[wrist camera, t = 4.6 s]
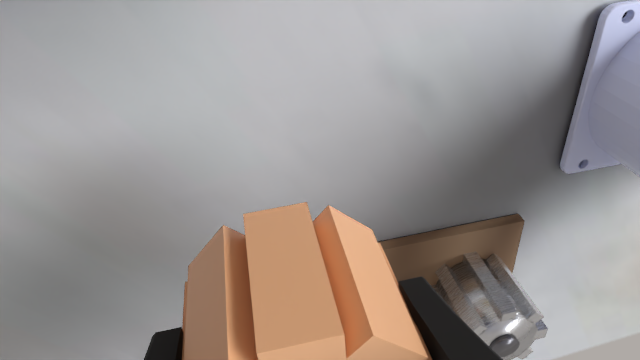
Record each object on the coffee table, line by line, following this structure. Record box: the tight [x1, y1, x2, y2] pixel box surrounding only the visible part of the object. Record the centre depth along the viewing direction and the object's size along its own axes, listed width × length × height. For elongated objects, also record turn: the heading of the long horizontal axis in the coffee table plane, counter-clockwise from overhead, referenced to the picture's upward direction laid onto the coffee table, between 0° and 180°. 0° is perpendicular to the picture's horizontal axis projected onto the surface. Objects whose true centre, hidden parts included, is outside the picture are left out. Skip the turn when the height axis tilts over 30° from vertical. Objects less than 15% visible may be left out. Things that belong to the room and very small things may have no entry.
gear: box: [432, 252, 548, 360], centre depth 24 cm, size 5×5×4 cm
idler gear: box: [182, 202, 432, 360], centre depth 11 cm, size 5×5×4 cm
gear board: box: [378, 214, 524, 286], centre depth 25 cm, size 15×11×4 cm
